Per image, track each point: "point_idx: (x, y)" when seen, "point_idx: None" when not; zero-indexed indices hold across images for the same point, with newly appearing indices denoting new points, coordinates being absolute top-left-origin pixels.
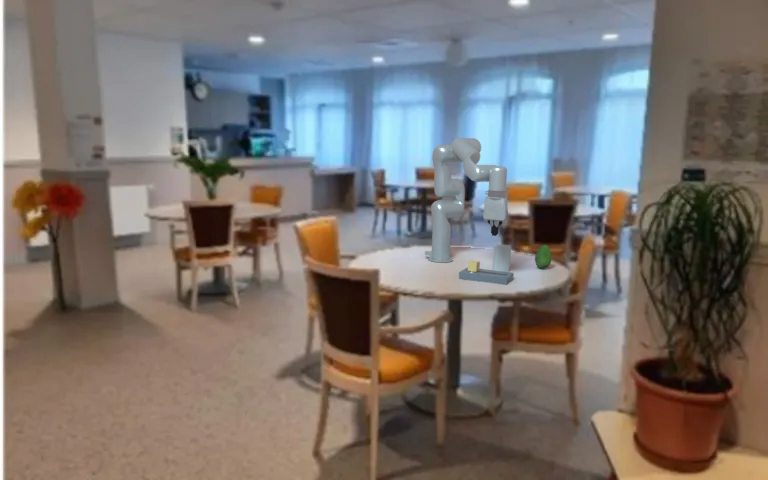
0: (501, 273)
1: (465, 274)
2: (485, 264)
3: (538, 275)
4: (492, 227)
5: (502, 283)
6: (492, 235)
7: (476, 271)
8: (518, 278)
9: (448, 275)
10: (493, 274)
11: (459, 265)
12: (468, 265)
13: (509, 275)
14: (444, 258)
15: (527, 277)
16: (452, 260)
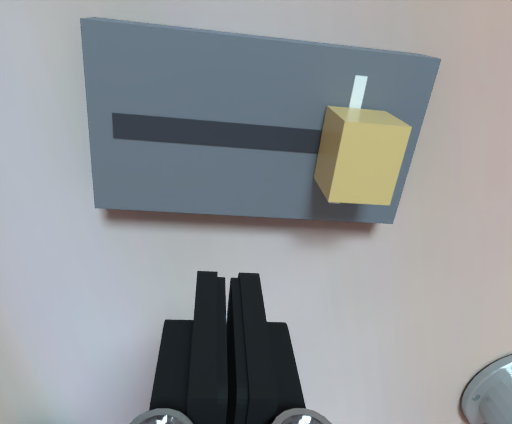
0: (160, 153)
1: (391, 53)
2: (311, 405)
3: (15, 326)
4: (270, 384)
5: (122, 20)
6: (247, 273)
7: (326, 113)
8: (85, 221)
9: (483, 114)
10: (202, 99)
11: (426, 343)
12: (397, 120)
13: (92, 118)
14: (509, 382)
15: (48, 264)
16: (462, 399)
